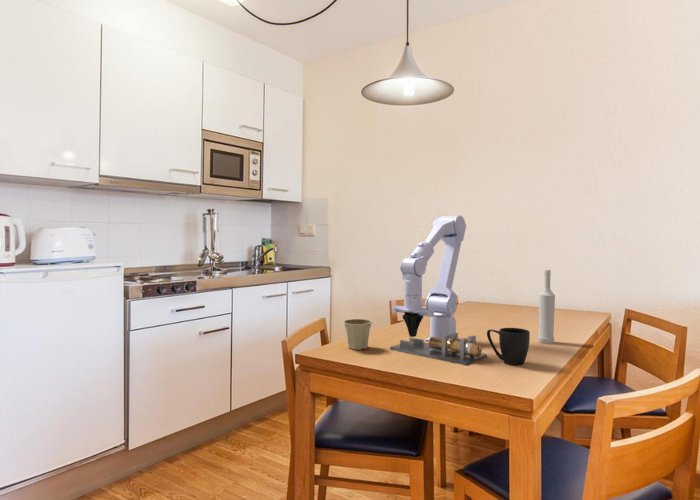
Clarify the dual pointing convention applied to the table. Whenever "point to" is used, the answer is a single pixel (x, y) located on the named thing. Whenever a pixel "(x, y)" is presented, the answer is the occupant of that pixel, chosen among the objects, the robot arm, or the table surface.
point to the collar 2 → (463, 345)
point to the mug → (512, 345)
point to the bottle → (546, 312)
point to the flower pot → (357, 333)
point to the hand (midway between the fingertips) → (412, 336)
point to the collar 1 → (445, 341)
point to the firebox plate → (432, 352)
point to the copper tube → (456, 346)
